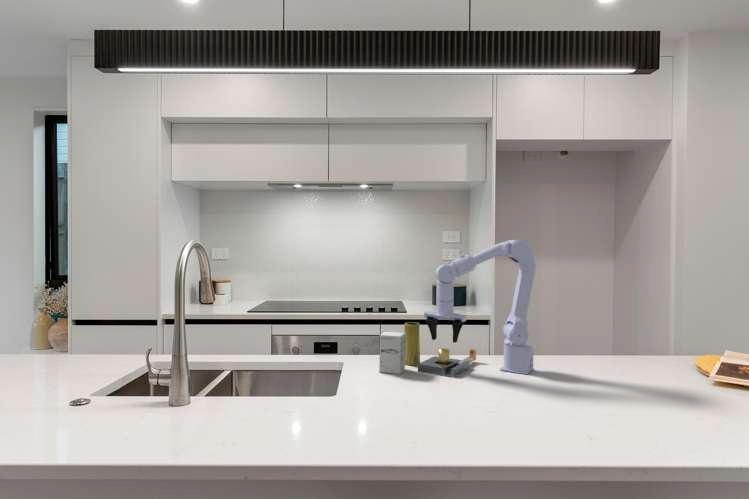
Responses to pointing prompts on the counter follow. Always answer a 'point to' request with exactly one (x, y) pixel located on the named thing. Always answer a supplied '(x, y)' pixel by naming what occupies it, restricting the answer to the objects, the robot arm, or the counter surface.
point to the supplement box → (392, 352)
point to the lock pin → (470, 358)
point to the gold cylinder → (444, 356)
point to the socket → (443, 367)
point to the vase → (412, 344)
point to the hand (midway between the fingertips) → (444, 340)
